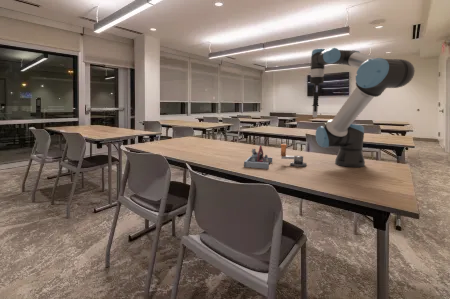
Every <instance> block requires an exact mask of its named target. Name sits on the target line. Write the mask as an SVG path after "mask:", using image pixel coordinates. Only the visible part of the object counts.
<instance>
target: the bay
mask: <svg viewBox="0 0 450 299" xmlns="http://www.w3.org/2000/svg"><path fill="white" fill-rule="evenodd" d="M251 159H252V155H250V156H248V157H247V159H246V160H244V161H243V168H250V167H251V169H252V168H253V169H255V168H256V169H266V170H267V169H268V170H269V168H270V164H272V163H273V157H272V156H268V160H269V162H268V163H262V162H251V161H250V160H251Z"/></svg>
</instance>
